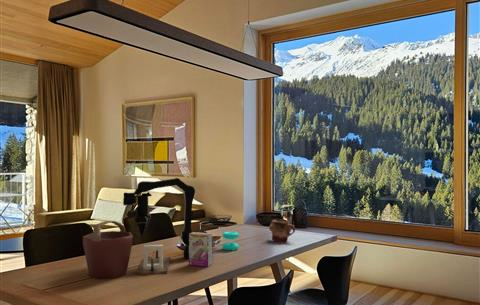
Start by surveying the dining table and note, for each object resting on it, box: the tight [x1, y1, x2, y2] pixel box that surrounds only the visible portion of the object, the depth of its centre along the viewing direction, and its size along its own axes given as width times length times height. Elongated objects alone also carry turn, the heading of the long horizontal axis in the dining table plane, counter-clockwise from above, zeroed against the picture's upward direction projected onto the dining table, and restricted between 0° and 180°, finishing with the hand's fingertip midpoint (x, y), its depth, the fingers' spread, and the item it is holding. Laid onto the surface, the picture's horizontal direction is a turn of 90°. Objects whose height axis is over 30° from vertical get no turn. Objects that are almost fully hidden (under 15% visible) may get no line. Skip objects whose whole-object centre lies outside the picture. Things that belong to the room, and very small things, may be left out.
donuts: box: [221, 231, 240, 251], centre depth 265 cm, size 10×10×10 cm
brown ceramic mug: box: [268, 219, 296, 243], centre depth 290 cm, size 20×12×14 cm, turn 56°
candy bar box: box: [188, 231, 213, 268], centre depth 226 cm, size 11×5×16 cm, turn 71°
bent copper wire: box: [150, 250, 159, 271], centre depth 223 cm, size 1×29×9 cm, turn 6°
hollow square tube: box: [143, 244, 164, 269], centre depth 215 cm, size 9×5×11 cm, turn 96°
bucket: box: [82, 220, 134, 280], centre depth 208 cm, size 24×22×25 cm
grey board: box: [136, 255, 171, 275], centre depth 224 cm, size 14×31×1 cm, turn 6°
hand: (143, 233), depth 237 cm, fingers open, 9 cm apart
